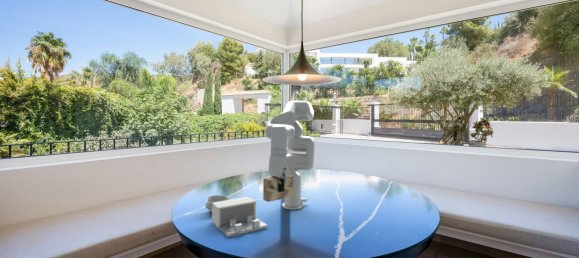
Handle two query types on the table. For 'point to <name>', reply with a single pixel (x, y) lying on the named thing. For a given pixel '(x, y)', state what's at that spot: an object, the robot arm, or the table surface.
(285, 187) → the door
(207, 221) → the table surface
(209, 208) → the teacup
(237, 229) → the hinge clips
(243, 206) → the cabinet
